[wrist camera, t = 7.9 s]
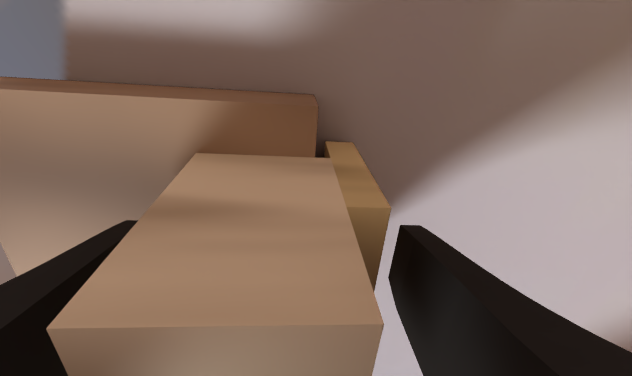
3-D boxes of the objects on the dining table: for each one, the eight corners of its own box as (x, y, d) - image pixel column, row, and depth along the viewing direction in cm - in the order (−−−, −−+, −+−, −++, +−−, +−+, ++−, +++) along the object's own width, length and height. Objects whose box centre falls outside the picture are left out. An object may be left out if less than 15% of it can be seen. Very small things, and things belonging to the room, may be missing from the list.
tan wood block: (339, 253, 13) (391, 494, 6) (220, 252, 13) (133, 511, 6) (352, 142, 11) (458, 322, 4) (210, 136, 10) (45, 329, 3)
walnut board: (292, 436, 20) (292, 476, 18) (134, 444, 19) (118, 486, 17) (313, 94, 10) (318, 106, 8) (-6, 76, 9) (-77, 84, 8)
